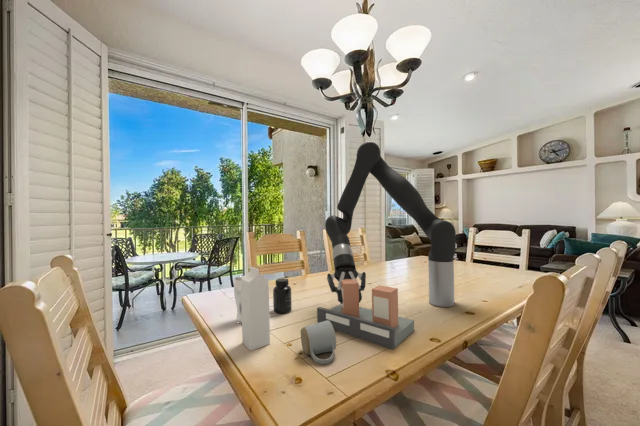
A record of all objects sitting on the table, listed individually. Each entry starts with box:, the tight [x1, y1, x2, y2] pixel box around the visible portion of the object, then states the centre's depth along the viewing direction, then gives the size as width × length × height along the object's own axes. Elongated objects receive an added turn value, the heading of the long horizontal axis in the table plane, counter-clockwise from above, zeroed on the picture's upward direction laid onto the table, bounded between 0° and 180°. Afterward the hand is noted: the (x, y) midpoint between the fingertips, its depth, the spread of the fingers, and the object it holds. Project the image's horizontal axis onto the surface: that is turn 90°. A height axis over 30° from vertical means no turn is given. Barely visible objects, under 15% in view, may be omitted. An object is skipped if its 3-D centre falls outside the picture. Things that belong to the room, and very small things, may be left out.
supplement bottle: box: [272, 277, 293, 315], centre depth 104 cm, size 7×7×12 cm
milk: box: [241, 265, 271, 352], centre depth 79 cm, size 6×6×22 cm
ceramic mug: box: [300, 320, 337, 365], centre depth 72 cm, size 11×8×8 cm
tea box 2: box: [371, 284, 399, 328], centre depth 82 cm, size 5×6×11 cm
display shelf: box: [316, 304, 415, 350], centre depth 88 cm, size 16×27×6 cm, turn 50°
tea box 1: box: [341, 279, 360, 317], centre depth 91 cm, size 5×6×11 cm
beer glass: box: [233, 275, 244, 324], centre depth 96 cm, size 7×7×15 cm
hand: (350, 301), depth 89 cm, fingers closed on tea box 1, 5 cm apart
